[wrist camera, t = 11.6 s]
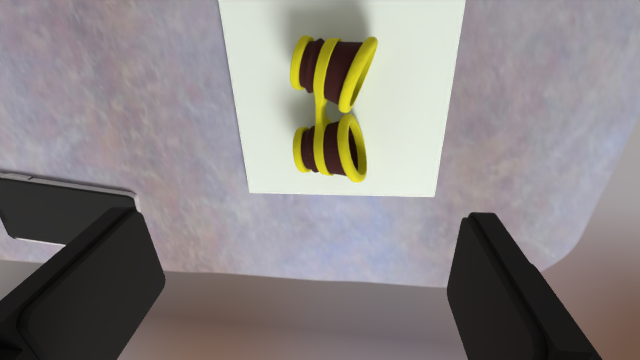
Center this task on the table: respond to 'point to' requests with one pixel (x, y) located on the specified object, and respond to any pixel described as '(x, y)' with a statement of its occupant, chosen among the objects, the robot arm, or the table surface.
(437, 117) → the mat
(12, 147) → the table surface
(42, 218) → the smartphone
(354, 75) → the opera glasses
